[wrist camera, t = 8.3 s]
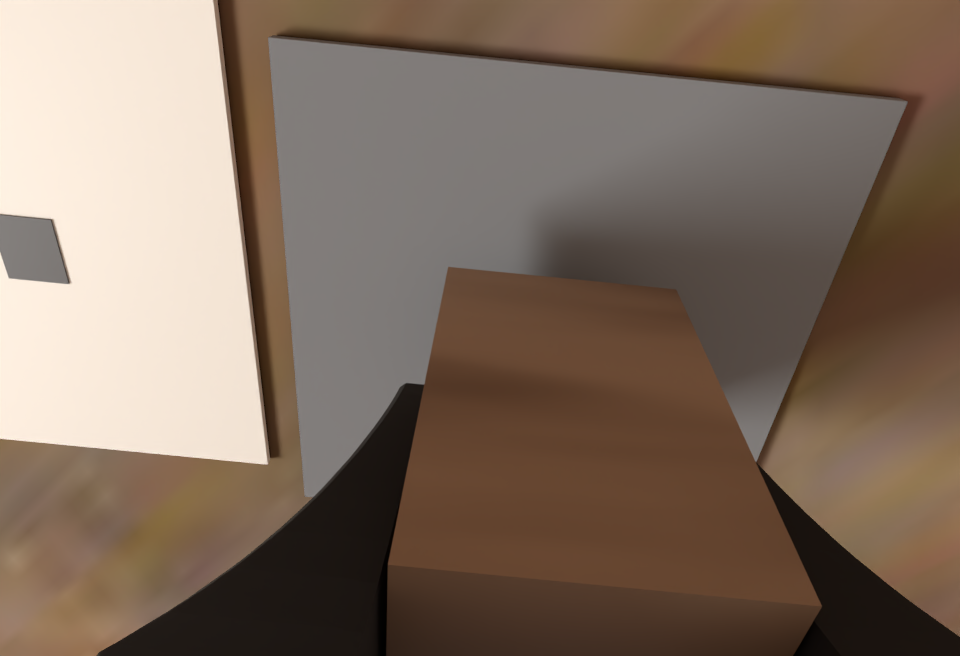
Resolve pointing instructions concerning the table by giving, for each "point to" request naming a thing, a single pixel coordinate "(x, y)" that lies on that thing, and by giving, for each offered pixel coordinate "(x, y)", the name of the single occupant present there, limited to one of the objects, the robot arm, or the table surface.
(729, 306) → the grey mat
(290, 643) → the robot arm
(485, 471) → the walnut block
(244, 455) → the cream mat
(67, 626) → the table surface
